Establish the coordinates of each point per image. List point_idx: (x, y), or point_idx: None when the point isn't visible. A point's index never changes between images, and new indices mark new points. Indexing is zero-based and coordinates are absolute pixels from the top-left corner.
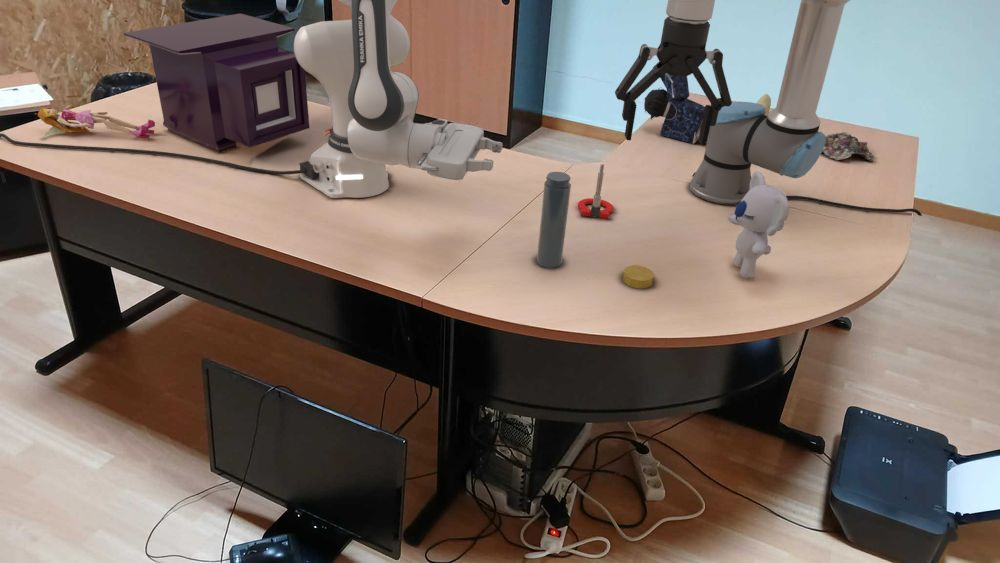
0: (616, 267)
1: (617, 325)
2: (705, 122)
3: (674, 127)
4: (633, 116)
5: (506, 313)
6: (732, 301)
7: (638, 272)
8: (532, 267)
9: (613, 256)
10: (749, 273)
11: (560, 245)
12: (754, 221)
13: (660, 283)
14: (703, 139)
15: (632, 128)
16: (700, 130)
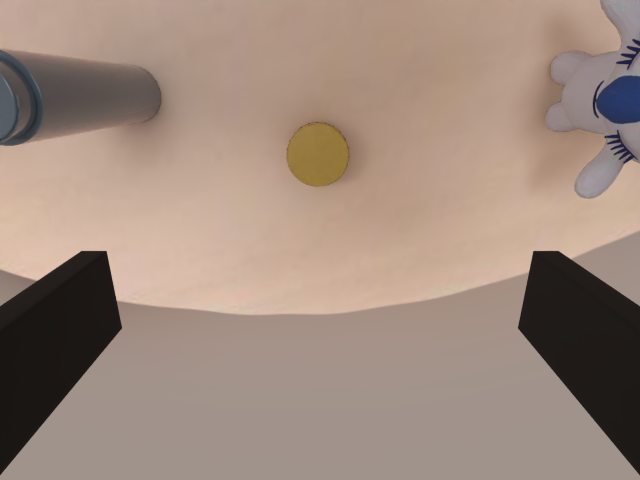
0: (280, 102)
1: (265, 295)
2: (603, 400)
3: None
4: (19, 438)
5: None
6: (486, 208)
7: (316, 156)
8: None
9: (277, 50)
10: (561, 131)
11: (132, 118)
12: (629, 155)
13: (363, 158)
14: (537, 346)
15: (81, 375)
16: (565, 280)
